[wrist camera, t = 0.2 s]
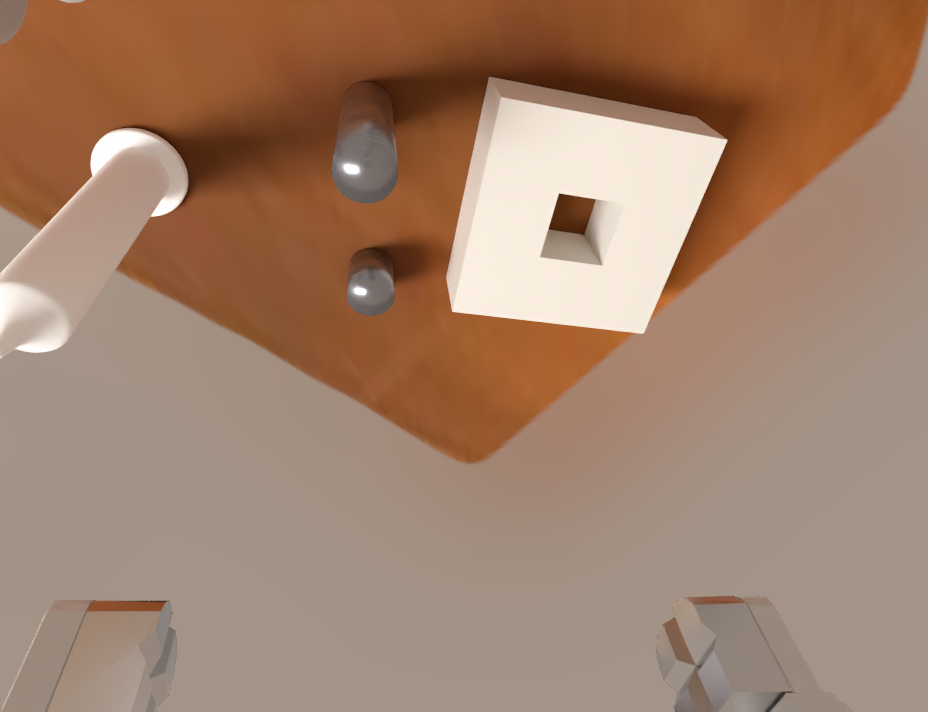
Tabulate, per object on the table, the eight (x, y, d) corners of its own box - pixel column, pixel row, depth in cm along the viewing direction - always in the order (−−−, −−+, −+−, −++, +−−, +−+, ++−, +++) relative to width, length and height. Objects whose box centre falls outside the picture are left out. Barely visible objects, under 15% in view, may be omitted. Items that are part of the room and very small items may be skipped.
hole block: (489, 76, 50) (501, 97, 46) (696, 116, 54) (727, 140, 49) (446, 277, 60) (452, 311, 56) (623, 299, 64) (643, 333, 59)
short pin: (351, 245, 58) (349, 272, 54) (395, 250, 58) (397, 278, 54) (346, 283, 60) (344, 312, 56) (389, 289, 61) (391, 318, 57)
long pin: (343, 76, 49) (334, 134, 38) (395, 86, 50) (402, 145, 39) (338, 129, 51) (329, 198, 40) (389, 137, 52) (393, 207, 41)
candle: (207, 179, 53) (106, 363, 33) (148, 229, 55) (18, 431, 35) (134, 108, 49) (-32, 265, 29) (73, 163, 51) (-122, 348, 31)
